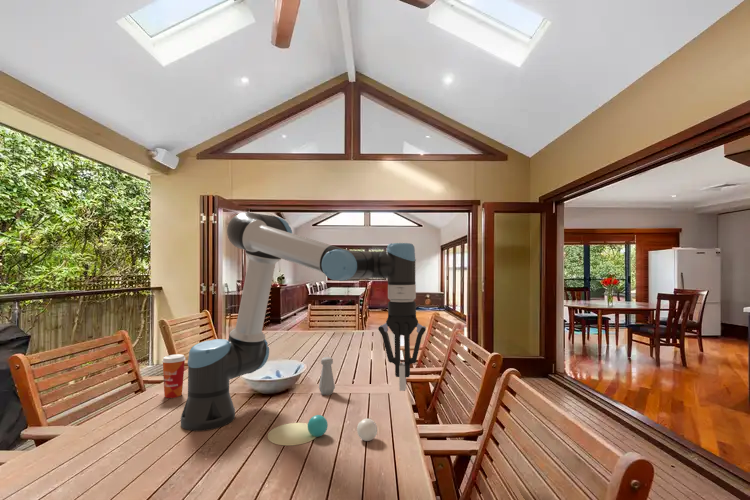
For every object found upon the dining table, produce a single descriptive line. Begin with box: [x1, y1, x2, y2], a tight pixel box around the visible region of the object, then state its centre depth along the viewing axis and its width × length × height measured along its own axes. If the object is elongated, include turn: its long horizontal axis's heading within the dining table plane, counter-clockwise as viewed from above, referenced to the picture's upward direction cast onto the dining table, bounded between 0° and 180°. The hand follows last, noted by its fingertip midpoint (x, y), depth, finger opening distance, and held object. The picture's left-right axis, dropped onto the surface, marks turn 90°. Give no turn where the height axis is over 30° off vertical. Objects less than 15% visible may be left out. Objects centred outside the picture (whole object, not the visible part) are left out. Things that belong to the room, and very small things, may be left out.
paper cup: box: [161, 353, 186, 399], centre depth 139 cm, size 8×8×14 cm
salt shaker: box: [318, 356, 336, 396], centre depth 142 cm, size 6×6×13 cm
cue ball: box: [356, 418, 378, 442], centre depth 104 cm, size 6×6×6 cm
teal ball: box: [307, 414, 328, 438], centre depth 107 cm, size 6×6×6 cm
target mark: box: [267, 422, 317, 447], centre depth 108 cm, size 14×14×1 cm
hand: (402, 389), depth 103 cm, fingers closed
